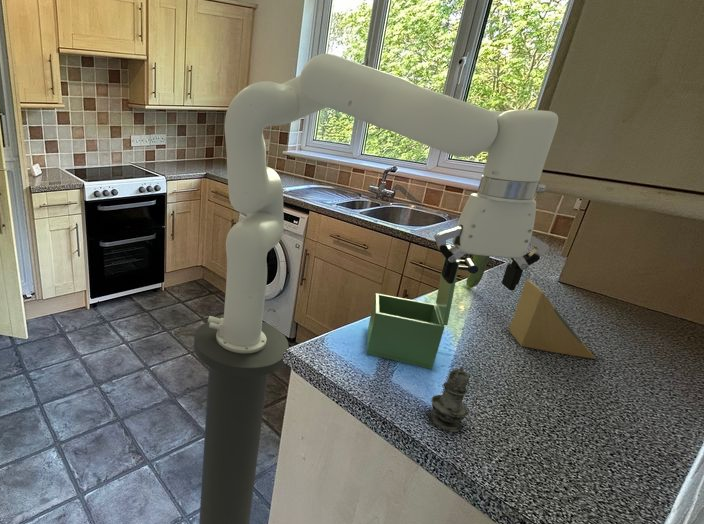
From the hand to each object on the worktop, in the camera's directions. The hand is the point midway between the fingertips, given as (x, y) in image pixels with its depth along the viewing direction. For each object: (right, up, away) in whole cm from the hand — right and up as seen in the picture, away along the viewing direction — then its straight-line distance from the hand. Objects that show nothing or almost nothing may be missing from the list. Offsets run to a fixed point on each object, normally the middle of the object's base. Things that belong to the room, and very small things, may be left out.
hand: (477, 284), depth 73 cm
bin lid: (+4, -1, +16) cm, 17 cm away
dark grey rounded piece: (-4, -26, +3) cm, 26 cm away
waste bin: (-2, -17, +25) cm, 30 cm away
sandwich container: (+39, -17, +30) cm, 52 cm away
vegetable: (+40, -6, +60) cm, 72 cm away
